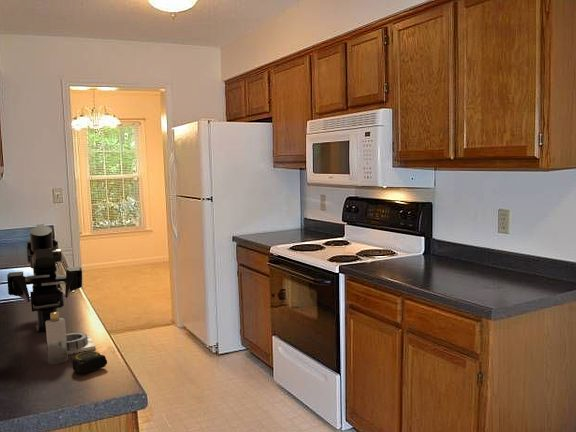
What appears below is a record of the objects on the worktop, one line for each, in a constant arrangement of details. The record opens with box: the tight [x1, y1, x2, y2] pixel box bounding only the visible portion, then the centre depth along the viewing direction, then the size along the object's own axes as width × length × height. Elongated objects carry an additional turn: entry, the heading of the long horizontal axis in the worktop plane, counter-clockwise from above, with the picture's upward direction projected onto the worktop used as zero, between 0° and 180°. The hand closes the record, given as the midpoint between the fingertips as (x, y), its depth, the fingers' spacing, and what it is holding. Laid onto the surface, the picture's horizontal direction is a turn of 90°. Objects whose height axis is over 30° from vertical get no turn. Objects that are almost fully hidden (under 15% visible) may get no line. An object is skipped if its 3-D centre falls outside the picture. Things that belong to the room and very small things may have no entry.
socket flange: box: [66, 332, 97, 355], centre depth 148 cm, size 11×11×3 cm
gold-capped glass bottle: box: [45, 311, 69, 365], centre depth 138 cm, size 4×4×12 cm
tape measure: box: [71, 350, 108, 374], centre depth 132 cm, size 7×7×4 cm
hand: (47, 298), depth 144 cm, fingers open, 9 cm apart
